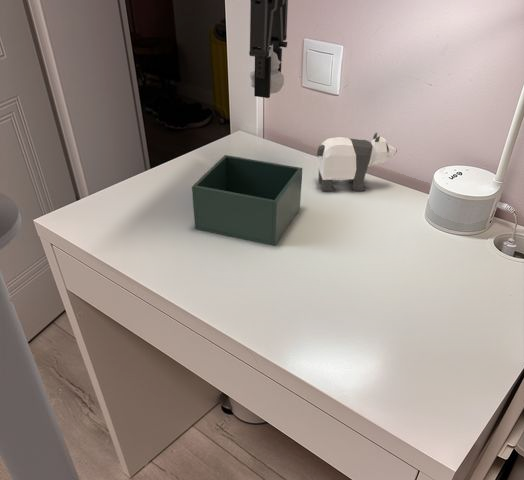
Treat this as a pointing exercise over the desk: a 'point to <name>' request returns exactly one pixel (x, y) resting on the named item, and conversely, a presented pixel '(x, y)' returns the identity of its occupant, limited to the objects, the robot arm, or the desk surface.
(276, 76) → the grey toy figure
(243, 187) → the bin
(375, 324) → the desk surface
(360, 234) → the desk surface
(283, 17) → the robot arm
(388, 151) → the giant panda
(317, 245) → the desk surface
